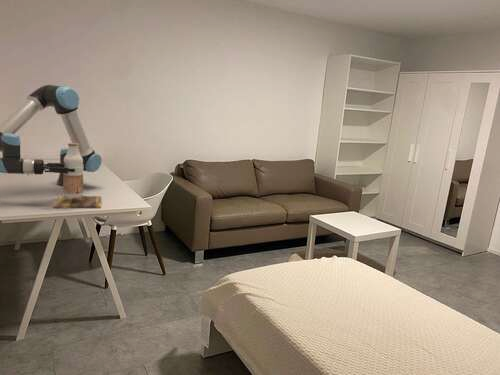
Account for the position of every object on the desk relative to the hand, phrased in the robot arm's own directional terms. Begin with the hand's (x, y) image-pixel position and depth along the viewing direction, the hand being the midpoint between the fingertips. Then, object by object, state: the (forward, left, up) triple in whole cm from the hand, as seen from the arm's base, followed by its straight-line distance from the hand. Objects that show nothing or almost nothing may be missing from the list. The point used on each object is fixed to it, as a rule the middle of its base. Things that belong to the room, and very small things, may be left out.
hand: (82, 168), depth 198 cm
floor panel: (0, -2, -19) cm, 19 cm away
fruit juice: (+3, -3, -15) cm, 16 cm away
